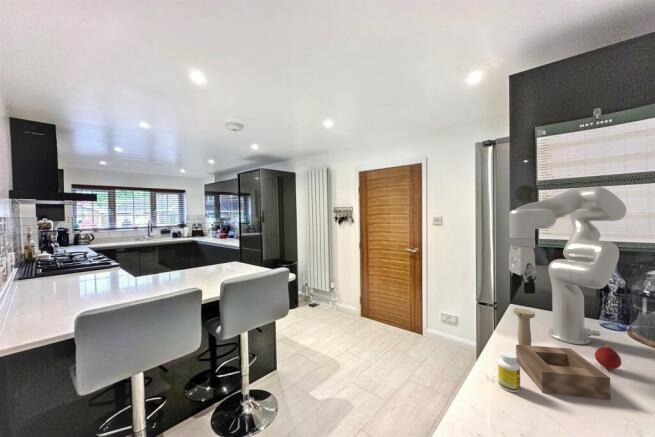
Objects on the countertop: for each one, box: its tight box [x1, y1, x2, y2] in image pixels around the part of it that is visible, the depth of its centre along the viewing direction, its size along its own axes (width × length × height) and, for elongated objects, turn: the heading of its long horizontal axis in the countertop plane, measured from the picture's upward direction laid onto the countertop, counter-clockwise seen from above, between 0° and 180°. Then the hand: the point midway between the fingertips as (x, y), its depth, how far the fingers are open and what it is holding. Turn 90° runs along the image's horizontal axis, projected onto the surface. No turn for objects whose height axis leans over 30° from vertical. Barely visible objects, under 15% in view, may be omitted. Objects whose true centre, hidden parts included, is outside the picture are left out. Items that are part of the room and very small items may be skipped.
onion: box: [594, 344, 622, 371], centre depth 85 cm, size 6×6×8 cm
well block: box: [515, 344, 612, 401], centre depth 81 cm, size 16×16×6 cm
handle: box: [512, 307, 536, 346], centre depth 97 cm, size 5×6×15 cm
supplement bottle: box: [497, 350, 521, 393], centre depth 78 cm, size 5×5×10 cm
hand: (522, 289), depth 97 cm, fingers open, 9 cm apart
